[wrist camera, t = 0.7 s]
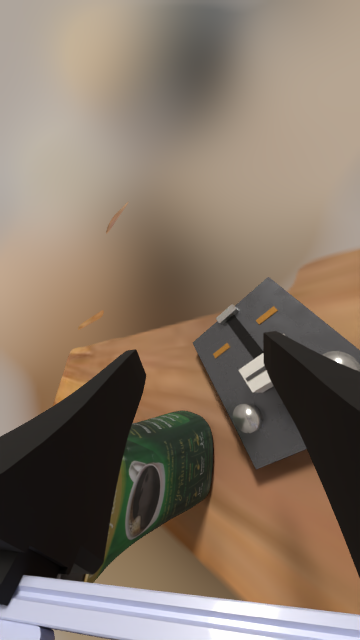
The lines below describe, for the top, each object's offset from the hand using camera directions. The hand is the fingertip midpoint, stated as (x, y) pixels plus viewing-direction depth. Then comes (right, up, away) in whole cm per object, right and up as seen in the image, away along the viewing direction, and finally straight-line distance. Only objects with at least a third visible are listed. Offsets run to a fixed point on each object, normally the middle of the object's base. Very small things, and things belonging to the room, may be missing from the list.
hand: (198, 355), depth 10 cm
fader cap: (+9, -4, +9) cm, 13 cm away
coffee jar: (+1, -16, +14) cm, 22 cm away
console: (+10, -3, +11) cm, 15 cm away
